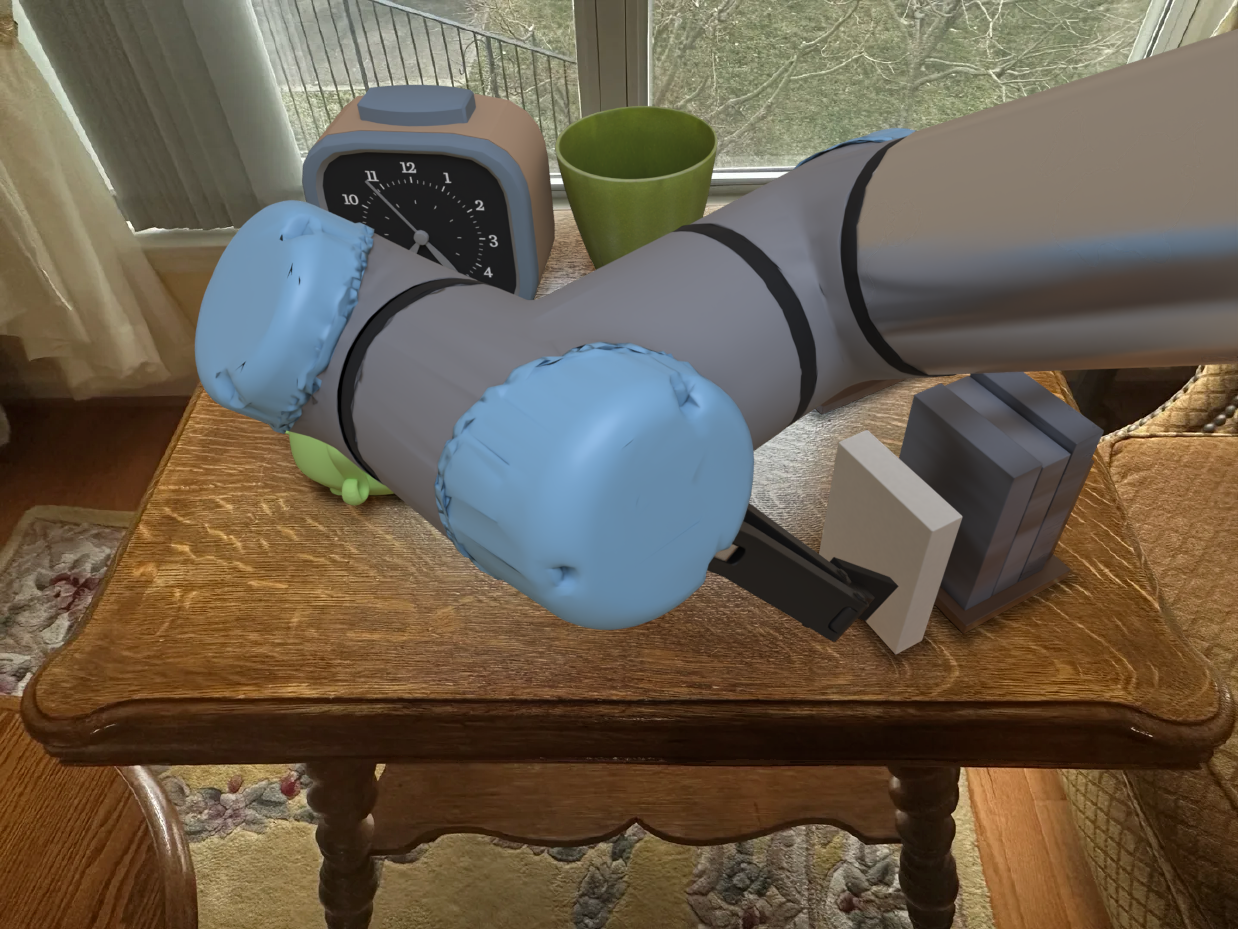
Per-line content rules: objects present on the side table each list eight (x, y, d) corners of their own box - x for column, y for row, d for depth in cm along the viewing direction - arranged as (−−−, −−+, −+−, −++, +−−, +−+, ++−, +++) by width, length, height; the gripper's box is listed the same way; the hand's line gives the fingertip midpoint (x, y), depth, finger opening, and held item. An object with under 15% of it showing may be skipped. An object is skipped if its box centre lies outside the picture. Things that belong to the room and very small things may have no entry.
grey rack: (1067, 578, 69) (1138, 429, 59) (963, 634, 66) (1018, 488, 55) (961, 484, 76) (1007, 337, 66) (862, 531, 73) (895, 385, 62)
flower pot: (557, 327, 93) (541, 178, 82) (579, 246, 104) (568, 103, 92) (708, 333, 91) (714, 181, 80) (715, 249, 102) (721, 105, 91)
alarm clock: (341, 328, 94) (278, 120, 79) (372, 275, 101) (319, 73, 86) (542, 340, 92) (516, 127, 76) (560, 284, 98) (540, 78, 83)
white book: (922, 640, 66) (963, 516, 56) (895, 655, 65) (932, 531, 56) (841, 554, 71) (867, 428, 62) (816, 567, 71) (837, 441, 61)
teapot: (445, 378, 88) (420, 262, 79) (520, 464, 80) (501, 344, 71) (279, 449, 82) (232, 331, 73) (341, 550, 74) (296, 430, 65)
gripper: (420, 342, 50) (662, 445, 66) (653, 698, 35) (900, 724, 50) (498, 227, 48) (729, 360, 64) (784, 549, 33) (999, 624, 48)
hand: (804, 520), depth 57 cm, fingers open, 13 cm apart
